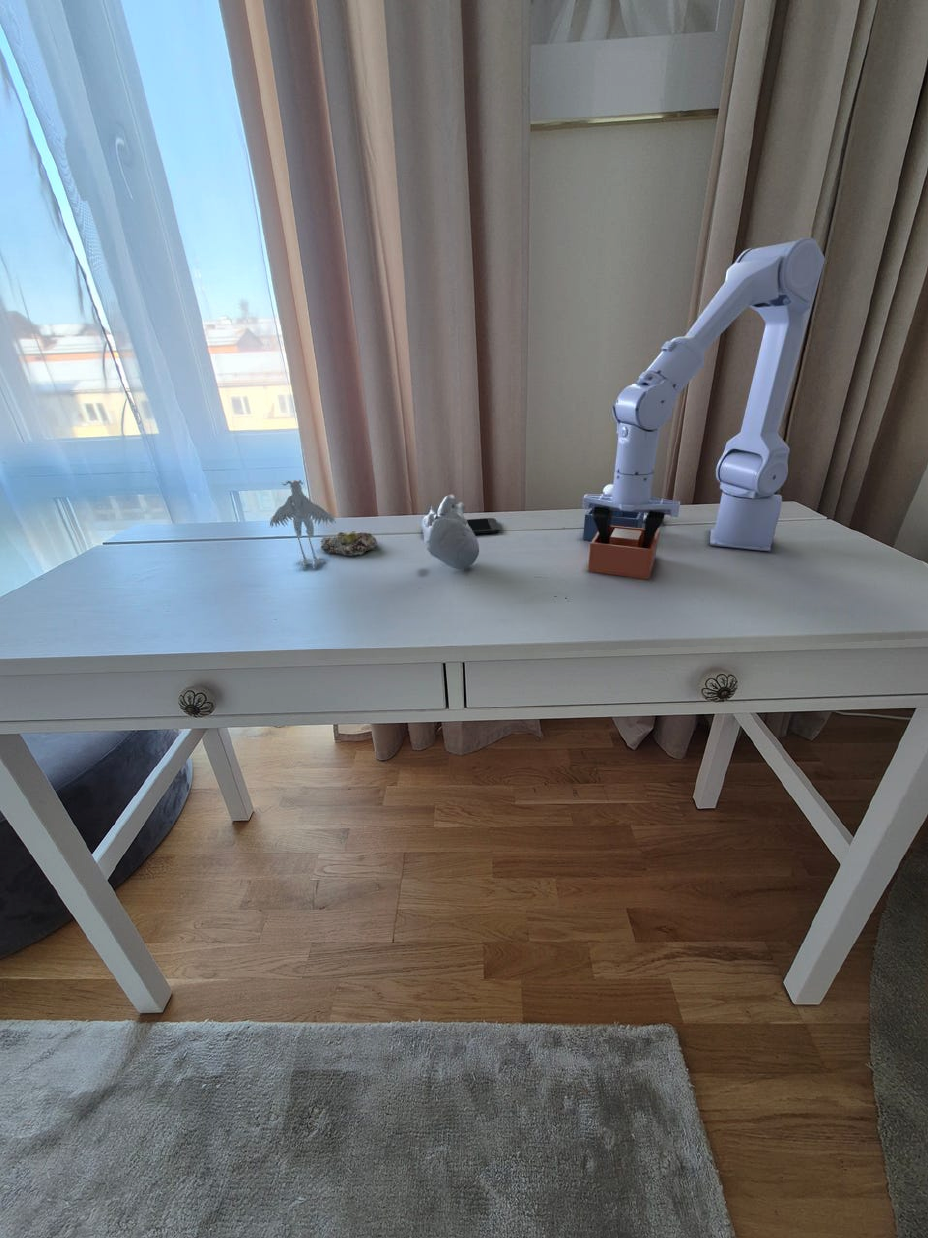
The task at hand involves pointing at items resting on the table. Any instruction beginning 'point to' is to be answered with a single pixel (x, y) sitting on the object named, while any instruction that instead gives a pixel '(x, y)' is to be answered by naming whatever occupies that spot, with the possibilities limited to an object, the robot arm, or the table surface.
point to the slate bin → (626, 521)
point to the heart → (450, 534)
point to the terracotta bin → (623, 556)
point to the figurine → (301, 515)
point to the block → (626, 537)
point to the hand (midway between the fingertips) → (623, 553)
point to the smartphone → (483, 525)
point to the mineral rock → (349, 543)
